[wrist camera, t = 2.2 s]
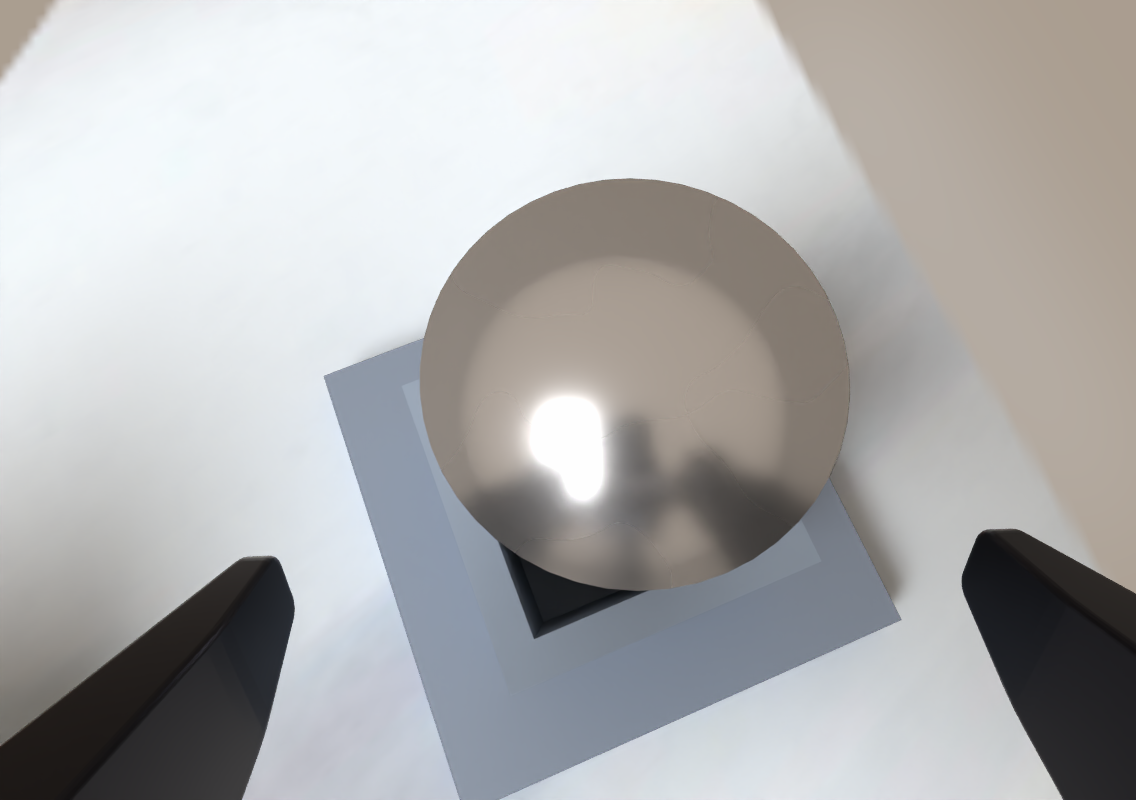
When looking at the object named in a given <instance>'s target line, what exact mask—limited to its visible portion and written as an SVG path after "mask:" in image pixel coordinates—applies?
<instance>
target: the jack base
mask: <svg viewBox="0 0 1136 800" xmlns="http://www.w3.org/2000/svg"><path fill="white" fill-rule="evenodd" d="M423 340H424V338H423V339H420V340H418V341H415V342H412V343H410V344H407V345H404V346H402V347H399V348H396V349H394V350H391V351H388V352H386V353H383V354H381V355H378V356H375V357H373V358H370V359H367V360H365V361H362V362H359V363H357V364H354V365H351V366H349V367H346V368H344V369H341V370H338V371H336V372H333V373H330V374H328V375H325V376H324V379H325V382H326V385H327V388H328V391H329V394H330V397H331V400H332V404H333V407H334V410H335V413H336V416H337V419H338V422H339V425H340V428H341V432H342V435H343V438H344V441H345V444H346V447H347V450H348V453H349V456H350V460H351V463H352V466H353V469H354V472H355V475H356V478H357V481H358V484H359V487H360V491H361V494H362V497H363V500H364V503H365V506H366V509H367V512H368V515H369V519H370V522H371V525H372V528H373V531H374V534H375V537H376V540H377V543H378V547H379V550H380V553H381V556H382V559H383V562H384V565H385V568H386V571H387V575H388V578H389V581H390V584H391V587H392V590H393V593H394V596H395V599H396V603H397V606H398V609H399V612H400V615H401V618H402V621H403V624H404V627H405V631H406V634H407V637H408V640H409V643H410V646H411V649H412V652H413V655H414V659H415V662H416V665H417V668H418V671H419V674H420V677H421V680H422V683H423V686H424V690H425V693H426V696H427V699H428V702H429V705H430V708H431V711H432V714H433V718H434V721H435V724H436V727H437V730H438V733H439V736H440V739H441V742H442V746H443V749H444V752H445V755H446V758H447V761H448V764H449V767H450V770H451V774H452V777H453V780H454V783H455V786H456V789H457V792H458V795H459V798H460V800H499V799H501V798H503V797H506V796H508V795H510V794H512V793H515V792H517V791H519V790H521V789H524V788H526V787H528V786H530V785H532V784H535V783H537V782H539V781H541V780H544V779H546V778H548V777H550V776H553V775H555V774H557V773H559V772H562V771H564V770H566V769H568V768H571V767H573V766H575V765H577V764H580V763H582V762H584V761H586V760H589V759H591V758H593V757H595V756H597V755H600V754H602V753H604V752H606V751H609V750H611V749H613V748H615V747H618V746H620V745H622V744H624V743H627V742H629V741H631V740H633V739H636V738H638V737H640V736H642V735H645V734H647V733H649V732H651V731H653V730H656V729H658V728H660V727H662V726H665V725H667V724H669V723H671V722H674V721H676V720H678V719H680V718H683V717H685V716H687V715H689V714H692V713H694V712H696V711H698V710H701V709H703V708H705V707H707V706H710V705H712V704H714V703H716V702H718V701H721V700H723V699H725V698H727V697H730V696H732V695H734V694H736V693H739V692H741V691H743V690H745V689H748V688H750V687H752V686H754V685H757V684H759V683H761V682H763V681H766V680H768V679H770V678H772V677H774V676H777V675H779V674H781V673H783V672H786V671H788V670H790V669H792V668H795V667H797V666H799V665H801V664H804V663H806V662H808V661H810V660H813V659H815V658H817V657H819V656H822V655H824V654H826V653H828V652H831V651H833V650H835V649H837V648H839V647H842V646H844V645H846V644H848V643H851V642H853V641H855V640H857V639H860V638H862V637H864V636H866V635H869V634H871V633H873V632H875V631H878V630H880V629H882V628H884V627H887V626H889V625H891V624H893V623H895V622H898V621H900V620H901V618H900V616H899V614H898V612H897V610H896V608H895V606H894V604H893V602H892V600H891V598H890V596H889V594H888V592H887V590H886V588H885V586H884V584H883V582H882V580H881V578H880V577H879V575H878V573H877V571H876V569H875V567H874V565H873V563H872V561H871V559H870V557H869V555H868V553H867V551H866V549H865V547H864V545H863V543H862V541H861V539H860V537H859V535H858V533H857V531H856V529H855V527H854V525H853V523H852V522H851V520H850V518H849V516H848V514H847V512H846V510H845V508H844V506H843V504H842V502H841V500H840V498H839V496H838V494H837V492H836V490H835V488H834V486H833V484H832V482H831V480H830V478H828V480H827V482H826V484H825V485H824V487H823V489H822V490H821V492H820V494H819V496H818V497H817V499H816V501H815V502H814V503H813V504H812V506H811V507H810V508H809V509H808V511H807V512H806V513H805V514H804V516H803V517H802V518H801V519H800V521H799V522H798V523H797V524H796V525H795V526H794V527H793V528H792V529H791V530H790V531H789V532H788V533H787V534H785V535H784V536H783V537H782V538H781V539H780V540H779V541H778V542H777V543H776V544H774V545H773V546H771V547H770V548H769V549H767V550H766V551H764V552H763V553H761V554H760V555H759V556H757V557H756V558H754V559H753V560H751V561H749V562H747V563H745V564H743V565H741V566H739V567H738V568H736V569H734V570H732V571H730V572H728V573H726V574H723V575H720V576H717V577H714V578H711V579H708V580H706V581H703V582H700V583H696V584H691V585H686V586H681V587H676V588H671V589H661V590H645V591H632V590H619V589H607V588H602V587H597V586H593V585H588V584H583V583H579V582H575V581H573V580H570V579H567V578H564V577H562V576H559V575H556V574H553V573H550V572H548V571H546V570H544V569H542V568H540V567H538V566H536V565H535V564H533V563H531V562H529V561H527V560H525V559H523V558H521V557H520V556H518V555H517V554H516V553H514V552H513V551H511V550H510V549H509V548H507V547H506V546H504V545H503V544H502V543H500V542H499V541H497V540H496V539H495V538H494V537H493V536H492V535H491V534H490V533H489V532H488V531H487V530H485V529H484V528H483V527H482V526H481V525H480V524H479V523H478V522H477V521H476V520H475V519H474V518H473V516H472V515H471V514H470V513H469V512H468V510H467V509H466V508H465V507H464V505H463V504H462V503H461V502H460V500H459V499H458V498H457V497H456V495H455V493H454V492H453V490H452V488H451V487H450V485H449V483H448V482H447V480H446V478H445V477H444V475H443V474H442V471H441V469H440V467H439V464H438V462H437V460H436V458H435V455H434V453H433V451H432V448H431V445H430V442H429V438H428V435H427V431H426V428H425V424H424V420H423V413H422V406H421V398H420V362H421V354H422V347H423Z"/></svg>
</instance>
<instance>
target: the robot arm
mask: <svg viewBox="0 0 1136 800" xmlns="http://www.w3.org/2000/svg"><path fill="white" fill-rule="evenodd" d="M962 589H963V593H964V596H965V598H966V601H967V603H968V605H969V608H970V610H971V612H972V615H973V617H974V619H975V622H976V624H977V626H978V629H979V631H980V633H981V636H982V638H983V640H984V643H985V645H986V647H987V650H988V652H989V654H990V657H991V659H992V661H993V664H994V666H995V668H996V671H997V673H998V675H999V677H1000V680H1001V682H1002V684H1003V687H1004V689H1005V691H1006V693H1007V695H1008V698H1009V700H1010V702H1011V704H1012V706H1013V708H1014V710H1015V712H1016V714H1017V716H1018V718H1019V720H1020V722H1021V724H1022V726H1023V727H1024V729H1025V731H1026V733H1027V735H1028V737H1029V738H1030V740H1031V742H1032V744H1033V746H1034V747H1035V749H1036V751H1037V753H1038V755H1039V756H1040V758H1041V760H1042V762H1043V764H1044V766H1045V767H1046V769H1047V771H1048V773H1049V775H1050V776H1051V778H1052V780H1053V782H1054V784H1055V786H1056V787H1057V789H1058V791H1059V793H1060V795H1061V796H1062V798H1063V800H1136V594H1135V593H1134V592H1132V591H1130V590H1128V589H1126V588H1124V587H1123V586H1121V585H1119V584H1117V583H1115V582H1114V581H1112V580H1110V579H1108V578H1106V577H1105V576H1103V575H1101V574H1099V573H1097V572H1095V571H1094V570H1092V569H1090V568H1088V567H1086V566H1085V565H1083V564H1081V563H1079V562H1077V561H1075V560H1074V559H1072V558H1070V557H1068V556H1066V555H1065V554H1063V553H1061V552H1059V551H1057V550H1055V549H1054V548H1052V547H1050V546H1048V545H1046V544H1045V543H1043V542H1041V541H1039V540H1037V539H1035V538H1034V537H1032V536H1030V535H1028V534H1026V533H1024V532H1022V531H1020V530H1017V529H989V530H984V531H982V532H981V533H980V534H979V535H978V536H977V538H976V540H975V543H974V546H973V548H972V551H971V553H970V556H969V558H968V561H967V563H966V566H965V568H964V571H963V574H962ZM294 611H295V606H294V600H293V596H292V593H291V591H290V588H289V585H288V582H287V580H286V577H285V574H284V571H283V569H282V566H281V564H280V562H279V560H278V559H277V558H276V557H273V556H253V557H244V558H241V559H239V560H238V561H236V562H235V563H234V564H233V565H231V566H230V567H229V568H227V569H226V570H225V571H224V572H222V573H221V574H220V575H218V576H217V577H216V578H215V579H213V580H212V581H211V582H209V583H208V584H207V585H206V586H204V587H203V588H202V589H201V590H199V591H198V592H197V593H195V594H194V595H193V596H192V597H190V598H189V599H188V600H186V601H185V602H184V603H183V604H181V605H180V606H179V607H177V608H176V609H175V610H174V611H172V612H171V613H170V614H169V615H167V616H166V617H165V618H163V619H162V620H161V621H160V622H158V623H157V624H156V625H154V626H153V627H152V628H151V629H149V630H148V631H147V632H145V633H144V634H143V635H142V636H140V637H139V638H138V639H137V640H135V641H134V642H133V643H131V644H130V645H129V646H128V647H126V648H125V649H124V650H122V651H121V652H120V653H119V654H117V655H116V656H115V657H113V658H112V659H111V660H110V661H108V662H107V663H106V664H104V665H103V666H102V667H101V668H99V669H98V670H97V671H96V672H94V673H93V674H92V675H90V676H89V677H88V678H87V679H85V680H84V681H83V682H81V683H80V684H79V685H78V686H76V687H75V688H74V689H72V690H71V691H70V692H69V693H67V694H66V695H65V696H64V697H62V698H61V699H60V700H58V701H57V702H56V703H55V704H53V705H52V706H51V707H49V708H48V709H47V710H46V711H44V712H43V713H42V714H40V715H39V716H38V717H37V718H35V719H34V720H33V721H32V722H30V723H29V724H28V725H26V726H25V727H24V728H23V729H21V730H20V731H19V732H17V733H16V734H15V735H14V736H12V737H11V738H10V739H8V740H7V741H6V742H5V743H3V744H2V745H1V746H0V800H242V798H243V795H244V793H245V790H246V787H247V784H248V781H249V779H250V776H251V773H252V770H253V768H254V765H255V762H256V759H257V756H258V753H259V750H260V747H261V744H262V741H263V738H264V735H265V732H266V728H267V725H268V721H269V717H270V713H271V709H272V705H273V701H274V697H275V693H276V689H277V685H278V681H279V677H280V672H281V668H282V664H283V660H284V656H285V652H286V648H287V644H288V640H289V636H290V631H291V627H292V623H293V619H294Z"/></svg>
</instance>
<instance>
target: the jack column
mask: <svg viewBox="0 0 1136 800" xmlns="http://www.w3.org/2000/svg"><path fill="white" fill-rule="evenodd" d="M420 398H421V406H422V413H423V420H424V424H425V428H426V431H427V435H428V438H429V442H430V445H431V448H432V451H433V453H434V455H435V458H436V460H437V462H438V464H439V467H440V469H441V471H442V474H443V475H444V477H445V478H446V480H447V482H448V483H449V485H450V487H451V488H452V490H453V492H454V493H455V495H456V497H457V498H458V499H459V500H460V502H461V503H462V504H463V505H464V507H465V508H466V509H467V510H468V512H469V513H470V514H471V515H472V516H473V518H474V519H475V520H476V521H477V522H478V523H479V524H480V525H481V526H482V527H483V528H484V529H485V530H487V531H488V532H489V533H490V534H491V535H492V536H493V537H494V538H495V539H496V540H497V541H499V542H500V543H502V544H503V545H504V546H506V547H507V548H509V549H510V550H511V551H513V552H514V553H516V554H517V555H518V556H520V557H521V558H523V559H525V560H527V561H529V562H531V563H533V564H535V565H536V566H538V567H540V568H542V569H544V570H546V571H548V572H550V573H553V574H556V575H559V576H562V577H564V578H567V579H570V580H573V581H575V582H579V583H583V584H588V585H593V586H597V587H602V588H607V589H619V590H632V591H645V590H661V589H671V588H676V587H681V586H686V585H691V584H696V583H700V582H703V581H706V580H708V579H711V578H714V577H717V576H720V575H723V574H726V573H728V572H730V571H732V570H734V569H736V568H738V567H739V566H741V565H743V564H745V563H747V562H749V561H751V560H753V559H754V558H756V557H757V556H759V555H760V554H761V553H763V552H764V551H766V550H767V549H769V548H770V547H771V546H773V545H774V544H776V543H777V542H778V541H779V540H780V539H781V538H782V537H783V536H784V535H785V534H787V533H788V532H789V531H790V530H791V529H792V528H793V527H794V526H795V525H796V524H797V523H798V522H799V521H800V519H801V518H802V517H803V516H804V514H805V513H806V512H807V511H808V509H809V508H810V507H811V506H812V504H813V503H814V502H815V501H816V499H817V497H818V496H819V494H820V492H821V490H822V489H823V487H824V485H825V484H826V482H827V480H828V478H829V477H830V475H831V472H832V470H833V467H834V465H835V462H836V460H837V457H838V455H839V452H840V450H841V446H842V442H843V438H844V434H845V430H846V426H847V420H848V410H849V401H850V382H849V366H848V360H847V354H846V348H845V343H844V339H843V336H842V333H841V330H840V327H839V323H838V320H837V317H836V315H835V313H834V310H833V308H832V306H831V304H830V302H829V300H828V298H827V295H826V293H825V291H824V290H823V288H822V287H821V285H820V283H819V282H818V280H817V279H816V277H815V276H814V274H813V272H812V271H811V269H810V268H809V267H808V266H807V264H806V263H805V262H804V261H803V260H802V258H801V257H800V256H799V255H798V254H797V252H796V251H795V250H794V249H793V248H792V247H791V246H790V245H789V244H788V243H787V242H786V241H785V240H784V239H783V238H782V237H781V236H779V235H778V234H777V233H776V232H775V231H774V230H773V229H771V228H770V227H769V226H767V225H766V224H765V223H763V222H762V221H761V220H759V219H758V218H757V217H755V216H754V215H752V214H750V213H749V212H747V211H745V210H743V209H742V208H740V207H738V206H737V205H735V204H733V203H731V202H729V201H727V200H724V199H722V198H720V197H717V196H715V195H713V194H710V193H708V192H705V191H702V190H699V189H695V188H692V187H688V186H685V185H682V184H676V183H670V182H665V181H659V180H647V179H612V180H601V181H596V182H590V183H584V184H579V185H575V186H572V187H569V188H565V189H562V190H559V191H555V192H553V193H550V194H548V195H546V196H543V197H541V198H539V199H536V200H534V201H532V202H530V203H528V204H526V205H525V206H523V207H521V208H520V209H518V210H516V211H514V212H513V213H511V214H509V215H508V216H507V217H505V218H504V219H503V220H501V221H500V222H499V223H497V224H496V225H495V226H493V227H492V228H491V229H490V230H488V231H487V232H486V233H485V234H484V235H483V236H482V237H481V238H480V239H479V240H478V241H477V242H476V243H475V244H474V245H473V246H472V247H471V248H470V249H469V250H468V252H467V253H466V254H465V255H464V257H463V258H462V259H461V260H460V262H459V263H458V264H457V266H456V267H455V268H454V270H453V271H452V273H451V275H450V276H449V278H448V280H447V281H446V283H445V285H444V286H443V288H442V290H441V292H440V294H439V296H438V299H437V301H436V303H435V306H434V308H433V310H432V313H431V315H430V319H429V322H428V326H427V329H426V333H425V336H424V340H423V347H422V354H421V362H420Z"/></svg>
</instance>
